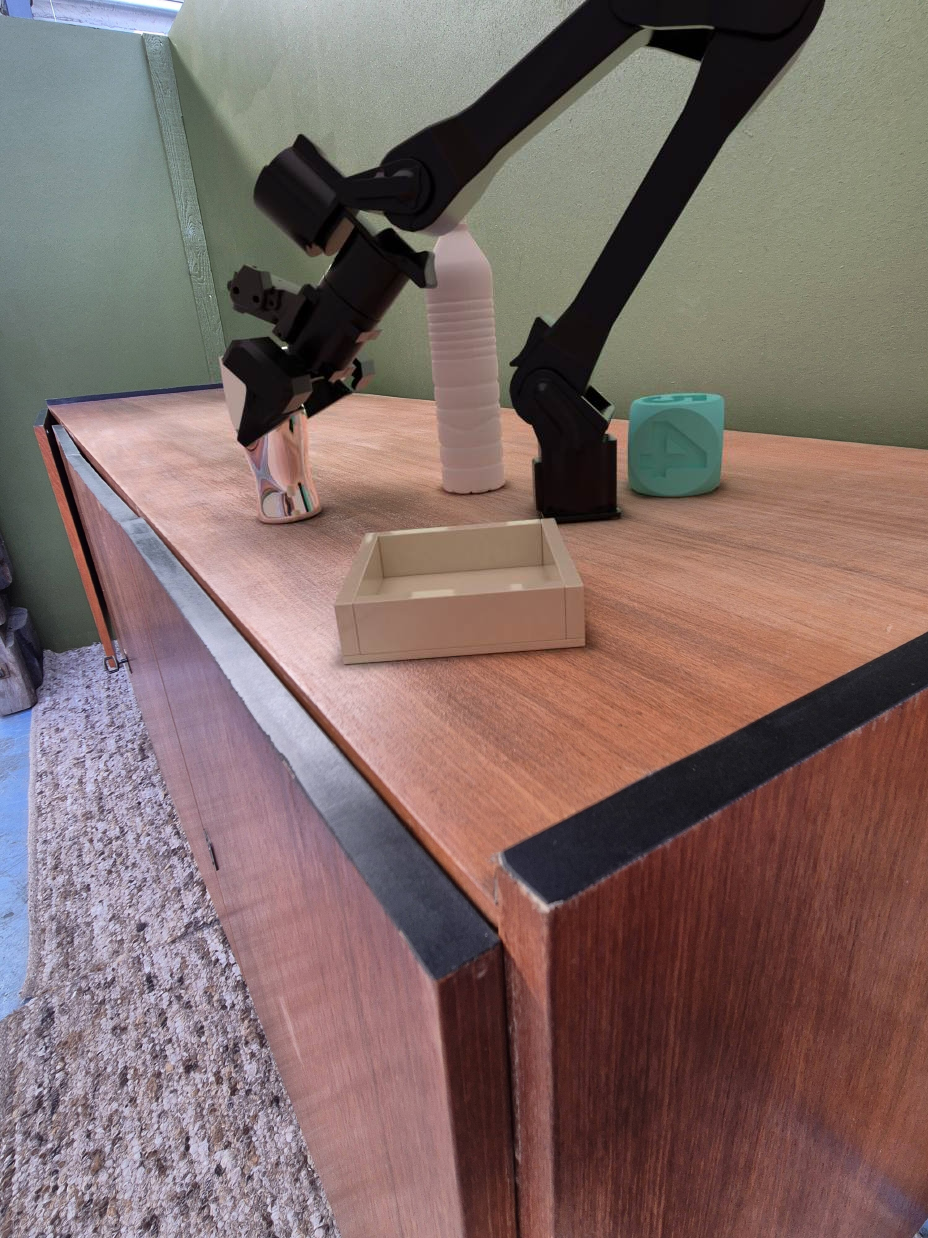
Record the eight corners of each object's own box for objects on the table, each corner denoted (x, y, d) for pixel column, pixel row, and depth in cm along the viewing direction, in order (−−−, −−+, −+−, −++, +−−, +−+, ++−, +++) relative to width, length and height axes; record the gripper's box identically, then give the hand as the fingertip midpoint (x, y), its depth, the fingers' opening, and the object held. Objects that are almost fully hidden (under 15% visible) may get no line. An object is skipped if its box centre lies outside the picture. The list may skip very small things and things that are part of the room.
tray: (556, 566, 50) (554, 517, 48) (585, 646, 38) (584, 585, 37) (371, 580, 50) (365, 532, 49) (343, 664, 38) (333, 604, 37)
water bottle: (507, 477, 77) (491, 213, 67) (503, 492, 71) (485, 204, 61) (427, 482, 78) (400, 223, 68) (417, 497, 72) (386, 215, 62)
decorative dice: (719, 497, 63) (725, 402, 60) (626, 497, 65) (627, 407, 62) (718, 476, 70) (723, 391, 66) (634, 477, 72) (635, 395, 69)
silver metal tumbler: (310, 523, 66) (274, 351, 60) (241, 526, 67) (200, 359, 61) (336, 502, 72) (306, 344, 66) (273, 505, 73) (238, 351, 67)
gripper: (327, 235, 67) (246, 367, 74) (217, 217, 50) (127, 388, 58) (415, 319, 68) (327, 441, 75) (335, 328, 52) (233, 482, 59)
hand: (261, 436), depth 67 cm, fingers closed on silver metal tumbler, 7 cm apart
